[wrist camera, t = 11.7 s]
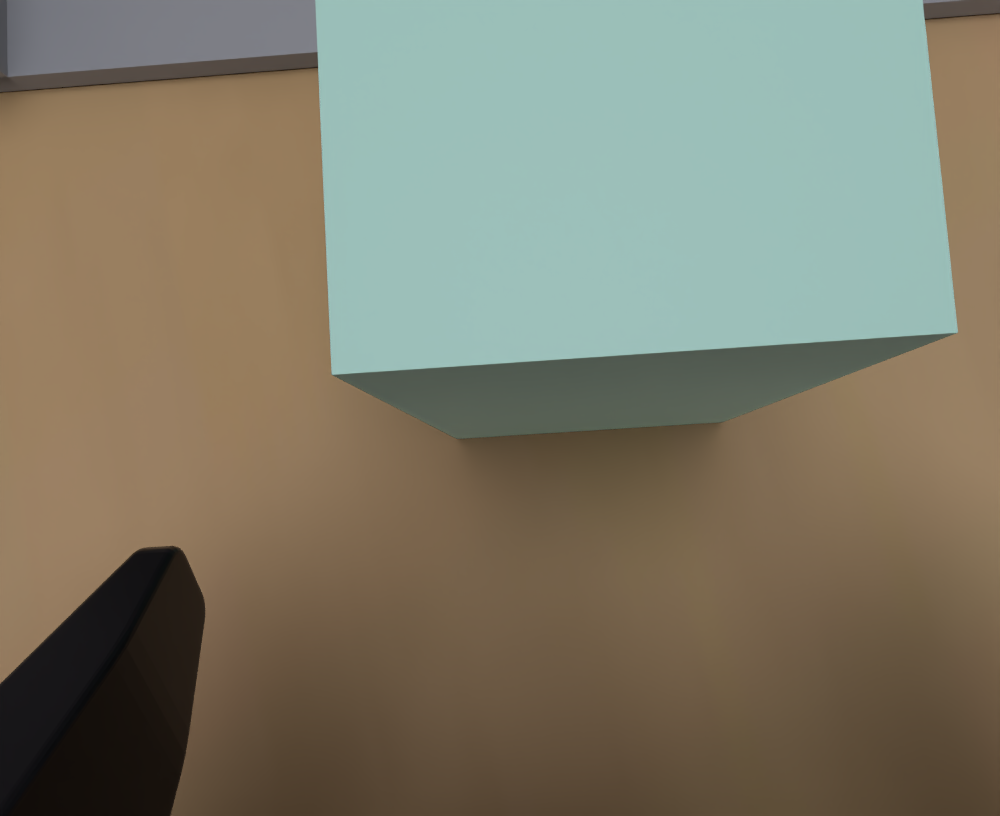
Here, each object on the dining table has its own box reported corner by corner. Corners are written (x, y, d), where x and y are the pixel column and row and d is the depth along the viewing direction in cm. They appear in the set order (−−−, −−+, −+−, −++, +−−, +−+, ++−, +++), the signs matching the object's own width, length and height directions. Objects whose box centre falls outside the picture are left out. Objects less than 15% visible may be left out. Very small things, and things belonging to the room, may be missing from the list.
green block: (722, 421, 17) (957, 333, 7) (456, 439, 17) (332, 374, 8) (701, 163, 18) (895, -257, 8) (443, 183, 18) (306, -199, 8)
